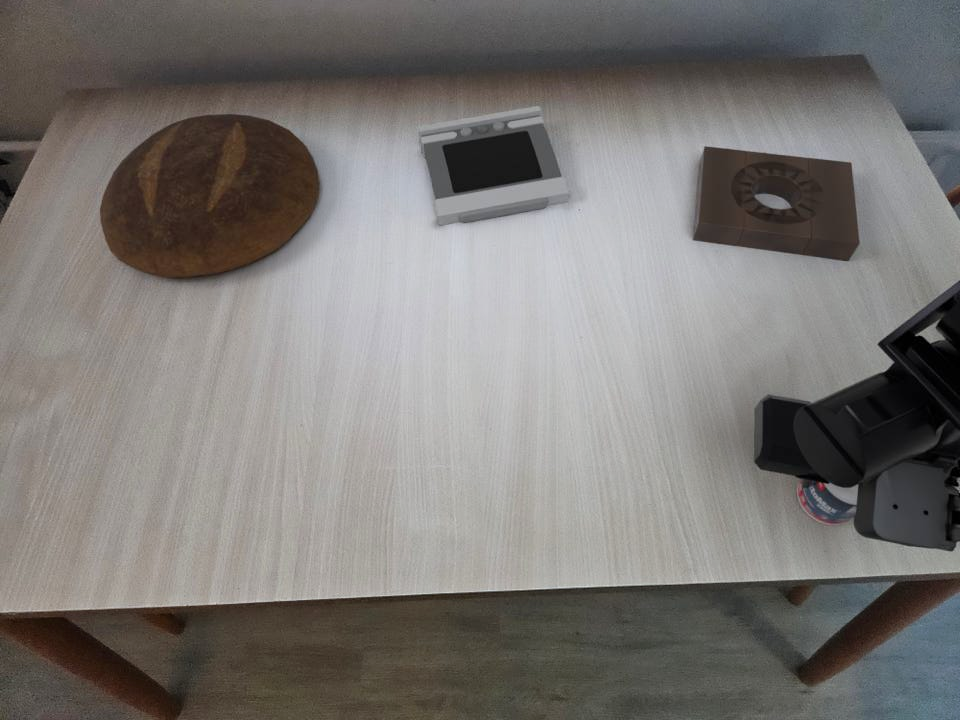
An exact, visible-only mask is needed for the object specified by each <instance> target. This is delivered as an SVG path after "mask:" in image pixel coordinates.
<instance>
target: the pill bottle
mask: <svg viewBox="0 0 960 720" xmlns="http://www.w3.org/2000/svg"><path fill="white" fill-rule="evenodd" d="M857 494H858V485H856V486H853V487H851V488H842V487H839V486H835V485H834V484H832V483H830V482H829V484H825V483H820V482H815V483H814V484H813V485H812V486H810V487H808V488H802V486H801V479H799V482H798V484H797V487H796V498H797V501H798V503H799V505H800V507H801V509H802V510H803V512H804V513H805V514H806V515H807V516H809V517H810V518H811V519H812V520H814V521H816V522H818V523H820V524H822V525H823V524H824V525H827V526H828V525H829V526H838V525H842V524H845V523H847V522H848V521H850V520H852V519H854V516H855V514H856V506H857Z"/></svg>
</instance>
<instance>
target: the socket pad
mask: <svg viewBox="0 0 960 720" xmlns="http://www.w3.org/2000/svg"><path fill="white" fill-rule="evenodd" d="M761 194H768V195H769V194H770V195H775V196H777V197H780V198H782V199H784V200H785V201H786V202H787V203H789V205H790V206H791V207H789V208H783V209H782V208H775V207H770V206H768V205H767V204H763V203H762V202H761V201H760V200H759V199H757V198H756V195H761ZM855 194H856V193H855V183H854V174H853V163H852V162H850V161H841V160H832V159H825V158H814V157H805V156H797V155H796V156H795V155H786V154H777V153H769V152H760V151H759V152H758V151H750V150H741V149H733V148H726V147H725V148H723V147H717V146H716V147H715V146H706V145H705V146H704V147H703V150H702V153H701V156H700V160H699V162H698V173H697V184H696V197H695V198H696V199H695V208H694V209H695V210H694V221H693V233H692V241H696V242H704V243H712V244H718V245H724V246H732V247H743V248H749V249H755V250H764V251H773V252H779V253H780V252H781V253H787V254H795V255H800V256H801V255H802V256H808V257H814V258H823V259H830V260H837V261H845V262H849V261H850V260H851V258H852V256H853V254H854V253H855V252H856V250H857V249H858V247H859V245H860V234H859V225H858V224H859V223H858V213H857V203H856V195H855Z"/></svg>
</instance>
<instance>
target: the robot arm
mask: <svg viewBox="0 0 960 720" xmlns="http://www.w3.org/2000/svg"><path fill="white" fill-rule="evenodd" d="M935 323H937V324H936V326H935V330H936V332H938V333H939V335H941V336H942V337H943V338H944V339H940V340H936V341H932V342H929V341H928V340H927V338H926V337H924V336H923V335H921V334H920V333H921V332H923V331H925V330H926V329H928V328H930V327H931V326H932V325H934V324H935ZM877 346H878V347H879V349H881V350H882V351H883V352H884V353H885V354H886V356H887V357H888V358H889V359H890V360H891V361H892V362H893V363H892V364H891V365H890V366H889V367H888V368H887V369H886V370H885V371H881V372H878V373H875V374H872V375H871V376H868V377H866V378H863V379H862V380H860V381H857V382H855V383H853V384H851V385H848V386H846V387H844V388H841V389H839V390H837V391H835V392H833V393H830V394H828V395H826V396H824V397H822V398H820V399H817V400H815V401H813V402H811V401H810V400H809V401H808V400H804V399H797V398H792V397H787V396H781V395H775V394H767V395H765V396H764V397H762V398H761V399H760V400H759V402H758V403H757V405H756V406H755V408H754V412H753V413H754V415H753V416H754V417H753V419H754V421H753V422H754V423H753V425H754V426H753V463H754V465H756V466H757V468H758V469H759V470H760V471H766V472H771V473H775V474H776V473H777V474H780V475H781V474H782V475H786V476H791V477H795V478H796V479H799V480H801V486H802V488H808V487H810V486H812V485H813V484H814V483H815V482H820V483H825V484H829V482H830V483H832V484H834V485H835V486H839V487H842V488H851V487H853V486H856V485H858V494H857V506H856V514H855V516H854V517H853V526H854V529H855V531H856V532H857V533H858V534H859V535H860V536H861V537H863V538H867V539H871V540H875V541H881V542H886V543H891V544H896V545H901V546H904V547H905V546H906V547H915V548H921V549H922V548H923V549H932V550H934V549H936V550H940V551H945V552H950V553H951V552H952V553H953V552H954V550H955V548H957V543H958V542H959V543H960V490H959V489H958V488H959V487H960V279H959V280H958V281H956V283H954V284H953V285H952V286H950V287H949V288H948V289H946V290H945V291H943V292H942V293H940V295H938V296H937V297H936V298H934V299H933V300H932V301H931V302H929V303H927V304H926V305H925V306H924V307H923V308H921V309H920V310H919V311H918V312H916V313H915V314H913V315H912V316H911V317H910V318H908V319H907V320H906V321H904V322H903V323H902V324H900V325H899V326H898V327H896V328H895V329H894V330H893V331H891V332H890V333H889V334H887V335H886V336H885V337H884V338H882V339H881V340H879V342H877Z"/></svg>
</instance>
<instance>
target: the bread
mask: <svg viewBox="0 0 960 720" xmlns="http://www.w3.org/2000/svg"><path fill="white" fill-rule="evenodd" d="M320 184H321V183H320V176H319V170H318V168H317V165H316V162H315V160H314V157H313V155H312V154H311V152H310V150H309V149H308V147H307V146H306V144H305V143H304V142H303V141H302V140H301V139H300V138H299V137H298V136H296V135H295V134H294V133H293V132H292V131H291V130H290V129H288V128H286V127H284V126H282V125H280V124H278V123H276V122H274V121H271V120H270V119H267V118H262V117H257V116H255V115H254V116H253V115H247V114H235V113H223V114H221V113H219V114H205V115H198V116H192V117H187V118H184V119H181V120H179V121H175V122H173V123H171V124H168V125H166V126H165V127H163V128H161V129H159V130H158V131H156V132H154V133H152V134H151V135H150V136H149V137H147V138H146V139H145V140H143V141H142V142H141V143H140V144H138V145H137V146H136V147H134V148H133V149H132V150H131V151H130V152H129V153H128V154H127V155H126V156H125V157H124V158H123V159H122V160H121V161H120V162H119V164H118V166H116V169H115V170H114V172H113V173H112V175H111V176H110V179H109V181H108V182H107V184H106V188H105V190H104V192H103V195H102V198H101V203H100V207H99V219H100V224H101V228H102V233H103V235H104V239H105V242H106V244H107V247H108V248H109V250H110V252H111V253H112V254H113V255H114V257H115V258H116V259H117V260H118V261H119V262H121V263H122V264H124V265H127V266H129V267H130V268H132V269H134V270H136V271H139V272H142V273H145V274H148V275H153V276H156V277H166V278H187V277H196V276H197V277H198V276H206V275H214V274H219V273H224V272H228V271H232V270H234V269H237V268H240V267H243V266H246V265H249V264H250V263H253V262H256V261H257V260H260V259H262V258H264V257H266V256H267V255H270V254H272V253H273V252H275V251H277V250H278V249H279V248H280V247H282V246H283V245H284V244H285V243H287V242H288V241H289V240H290V239H291V238H293V236H294V235H295V234H296V233H297V232H298V231H299V230H300V228H301V227H302V226H303V225H304V224H305V223H306V221H307V220H308V219H309V218H310V216H311V214H312V213H313V211H314V210H315V208H316V205H317V202H318V199H319V194H320Z"/></svg>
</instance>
